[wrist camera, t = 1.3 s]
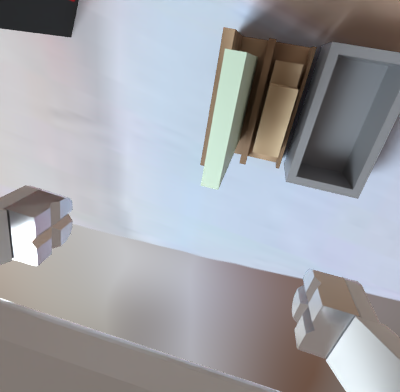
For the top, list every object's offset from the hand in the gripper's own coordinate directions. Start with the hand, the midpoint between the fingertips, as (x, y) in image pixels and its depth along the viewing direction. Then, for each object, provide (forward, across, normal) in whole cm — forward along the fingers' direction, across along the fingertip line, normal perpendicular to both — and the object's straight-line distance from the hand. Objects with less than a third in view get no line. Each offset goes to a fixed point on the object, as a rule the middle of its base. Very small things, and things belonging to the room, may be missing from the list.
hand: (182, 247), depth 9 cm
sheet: (+33, 0, -2) cm, 33 cm away
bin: (+34, -12, -2) cm, 36 cm away
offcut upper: (+30, -4, -1) cm, 30 cm away
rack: (+34, -2, -2) cm, 34 cm away
